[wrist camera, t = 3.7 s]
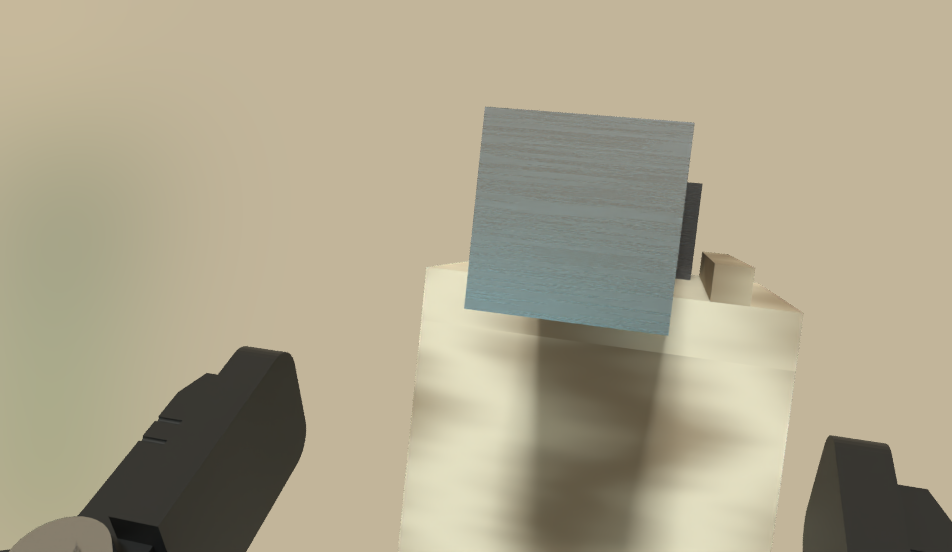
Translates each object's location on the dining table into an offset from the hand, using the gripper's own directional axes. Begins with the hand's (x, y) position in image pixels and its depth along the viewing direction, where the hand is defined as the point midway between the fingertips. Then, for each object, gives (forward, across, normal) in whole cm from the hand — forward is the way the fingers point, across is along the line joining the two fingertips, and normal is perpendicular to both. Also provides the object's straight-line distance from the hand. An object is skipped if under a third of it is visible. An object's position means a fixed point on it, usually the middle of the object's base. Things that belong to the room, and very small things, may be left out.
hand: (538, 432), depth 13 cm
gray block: (+12, 0, +5) cm, 13 cm away
